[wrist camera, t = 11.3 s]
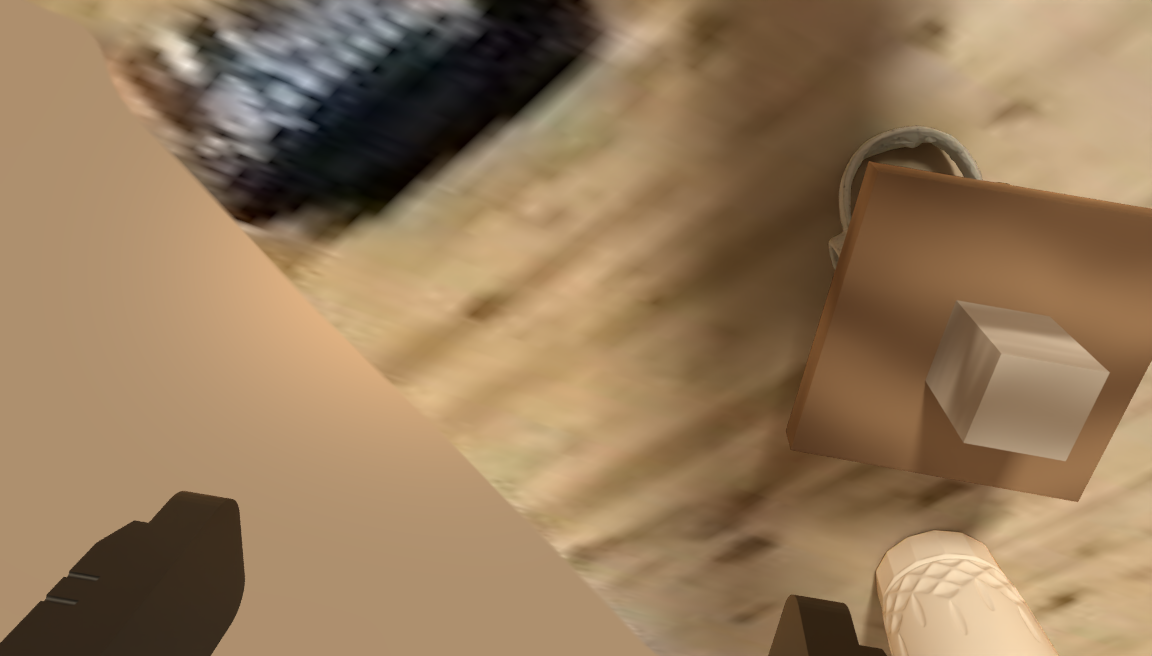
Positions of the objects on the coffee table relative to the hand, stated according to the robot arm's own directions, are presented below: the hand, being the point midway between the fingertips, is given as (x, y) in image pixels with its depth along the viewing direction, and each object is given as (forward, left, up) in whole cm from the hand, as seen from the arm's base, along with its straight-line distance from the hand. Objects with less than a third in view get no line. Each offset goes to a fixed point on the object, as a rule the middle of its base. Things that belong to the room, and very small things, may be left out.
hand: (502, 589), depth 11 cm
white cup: (+21, +22, -30) cm, 43 cm away
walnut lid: (+3, +15, -22) cm, 27 cm away
